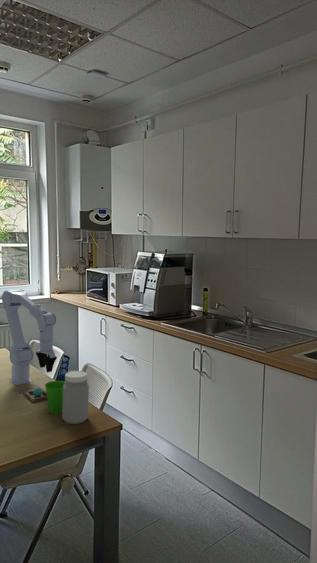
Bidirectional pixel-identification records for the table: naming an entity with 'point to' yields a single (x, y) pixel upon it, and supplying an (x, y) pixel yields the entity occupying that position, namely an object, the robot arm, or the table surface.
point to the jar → (75, 397)
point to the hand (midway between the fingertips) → (45, 369)
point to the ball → (37, 392)
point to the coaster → (23, 391)
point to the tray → (36, 399)
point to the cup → (55, 396)
